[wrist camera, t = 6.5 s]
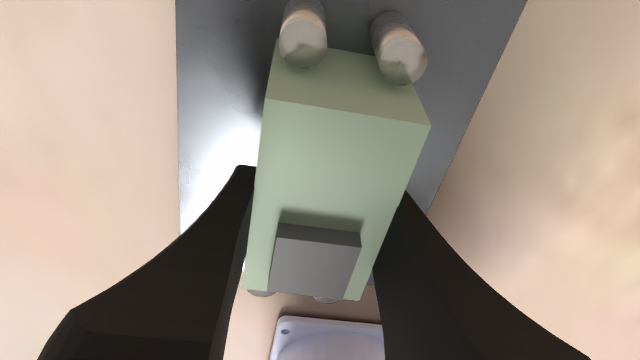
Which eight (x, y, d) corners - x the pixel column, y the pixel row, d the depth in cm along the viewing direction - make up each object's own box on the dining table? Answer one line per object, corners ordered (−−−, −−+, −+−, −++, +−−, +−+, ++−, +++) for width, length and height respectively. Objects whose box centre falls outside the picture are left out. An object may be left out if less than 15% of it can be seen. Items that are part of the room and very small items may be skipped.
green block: (350, 220, 17) (360, 316, 14) (254, 207, 17) (239, 304, 13) (402, 61, 13) (437, 139, 9) (276, 37, 13) (262, 110, 9)
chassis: (389, 273, 21) (400, 333, 18) (184, 250, 19) (165, 311, 17) (526, -28, 12) (584, 3, 10) (181, -105, 11) (140, -94, 8)
